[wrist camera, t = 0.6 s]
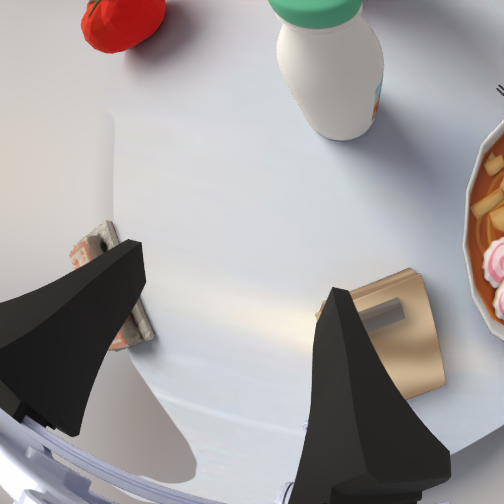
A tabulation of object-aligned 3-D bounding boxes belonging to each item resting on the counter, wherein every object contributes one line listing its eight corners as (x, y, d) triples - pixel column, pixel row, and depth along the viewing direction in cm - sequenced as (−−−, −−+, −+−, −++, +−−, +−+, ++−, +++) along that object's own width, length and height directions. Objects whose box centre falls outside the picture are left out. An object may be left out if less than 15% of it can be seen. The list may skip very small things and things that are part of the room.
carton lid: (444, 382, 23) (451, 397, 20) (353, 412, 27) (351, 430, 24) (419, 273, 23) (427, 281, 21) (315, 313, 27) (311, 325, 24)
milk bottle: (360, 154, 28) (370, 62, 9) (292, 125, 29) (204, 23, 11) (385, 92, 25) (408, -40, 7) (319, 67, 27) (267, -66, 9)
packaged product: (138, 349, 35) (98, 358, 38) (159, 336, 40) (118, 346, 43) (89, 220, 35) (56, 247, 38) (113, 218, 39) (78, 244, 43)
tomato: (194, -3, 30) (151, -44, 19) (149, 68, 34) (92, 39, 23) (142, -4, 33) (99, -33, 22) (104, 59, 37) (53, 38, 26)
